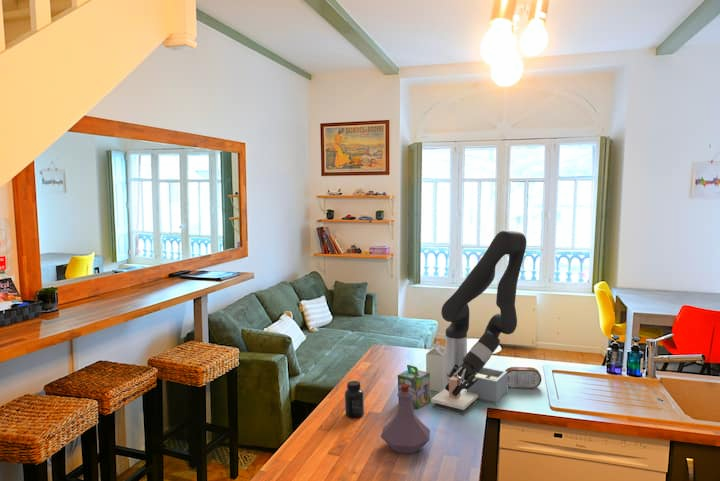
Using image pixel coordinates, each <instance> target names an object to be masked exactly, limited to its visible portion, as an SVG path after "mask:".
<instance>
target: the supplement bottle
mask: <svg viewBox="0 0 720 481" xmlns="http://www.w3.org/2000/svg"><path fill="white" fill-rule="evenodd" d="M361 387H362V386H361V382H360V381H358V380H351V381H348V382H347V383H346V388H347V389H345V391H344V405H345V406H344V407H345V410H344V411H345V415H346V417H347V416H348V417H347V418H349V417H350V418H349V419H359V417H360V418H362V417H363V416H364V414H365V406H364V405H365V403H364V391H363V390H362V389H361Z"/></svg>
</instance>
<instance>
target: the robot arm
mask: <svg viewBox="0 0 720 481" xmlns="http://www.w3.org/2000/svg"><path fill="white" fill-rule="evenodd" d="M526 248H527V238H526V235H525V234H524V233H523V232H520V231H514V230H500V231H499V232H498V233H497V234H496V235H495V236H494V238H493V239H492V241H491V243H490V244H489V246H488V247H487V249H486V251H485V252H484V254H483V255H482V257H480V259H479V260H478V262H477V263H476V265H475V266H474V267H473V269H472V270H471V271H470V272H469V273H468V275H467V276H466V277H465V279H464V280H463V281H462V283H461V285H459V287H458V288H457V290H456V291H455V292H454V293H453V294H452V295H451V296H450V297H449V298H448V299H447V300H446V301H445V302H444V304H442V307H441V316H442V319H443V320H444V321H445V322H448V323H450V325H449V326H448V327H447V328H446V329H445V350H446V351H447V376H448V378H451V377H452V376H453V377H458V378H460V382H459V384H458V385H457V386H456V387H455V389H454V390H453V391H452V394H453V395H454V396H455V397H456V396H457V395H458V394H459V393H460V392H461V390H462V391H463V390H466V391H467V389H469V388H470V387H471V386H472V385H473V384H474V383H475V382H476V381H477V380H478V379H477V377H475V373H476V372H477V373H479V372H480V371H481V369H482V368H483V367H485V366H486V364H487V363H488V362H489V360H490V359H491V357H492V355H493V353H495V351H496V350H497V349H498V347H499V346H500V344H501V341H500V338H499V337H500V335H501V334H505V335H511V334H514V332H515V331H516V329H517V325H518V316H517V310H516V296H517V287H518V286H517V285H518V280H519V277H520V272H521V267H522V264H523V260H524V257H525V253H526ZM505 255H508V262H507V267H506V268H505V271H504V273H502V276H501V278H500V280H499V282H498V284H497V289H496V300H495V301H496V302H495V304H496V306H497V307H498V308H499V310H500V312H499V313H495V314H494V315H493V316H492V317H491V318H490V319H489V321H488V323H487V326H486V328H485V330H484V333H483V334H482V335H481V337H480V338H479V339H478V340H477V341H476V343H475V344H474V345H472V347H471V348H470V350H469V351H468V332H469V327H470V306H469V303H470V302H472V301H474V300H475V299H476V298H477V297H479V296H480V295H482V294H483V293H484V292H485V291H486V290H487V289H488V288H489V287H490V285H491V284H492V282H493V281H494V279H495V276H496V267H497V264H498V262H500V261H501V259H502V258H503V257H504V256H505ZM468 383H469V384H468ZM467 384H468V385H467ZM445 389H446V390H447V391H449V382H447V385H446V387H445Z"/></svg>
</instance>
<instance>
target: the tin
mask: <svg viewBox="0 0 720 481" xmlns="http://www.w3.org/2000/svg"><path fill="white" fill-rule="evenodd" d="M504 371H507V388H508V387H509V388H511V389H525V390H526V389H528V390H529V389H531V390H533V389H537V387H539V386H540V385H541V383H542V375H541V373H540V371H539V370H538V369H537V368H535V367H527V366H526V367H525V366H524V367H523V366H521V367H520V366H511V367H508V368H506V369H505V370H504Z"/></svg>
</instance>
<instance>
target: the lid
mask: <svg viewBox="0 0 720 481" xmlns="http://www.w3.org/2000/svg"><path fill="white" fill-rule="evenodd" d="M459 382H460V378H458V377H453V376H452V377H451V378H450V377H448V383H449V391H447V390H446V389H444V390H442V391H441V392H438V393H437V394H436V395H435V396H433V397H432V398H430V400H431V401H430V402H431V403H434V404H436V403H438V404H442V405H446V406H450V407H454V408H458V409H462V410H464V409H465V408H466V407H468V406H469V405H470V404H471V403H472V402H473V401H476V400H475V399H477V398H478V394H475V393H470V392H467V390H466V391H465V390H463V389H462V390H461V392H460V393H459V394H458V395H457V396H456V397H455V396H454V395H453V394H452V391H453V390H454V389H455V387H456V386H457V385H458V384H459Z"/></svg>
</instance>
